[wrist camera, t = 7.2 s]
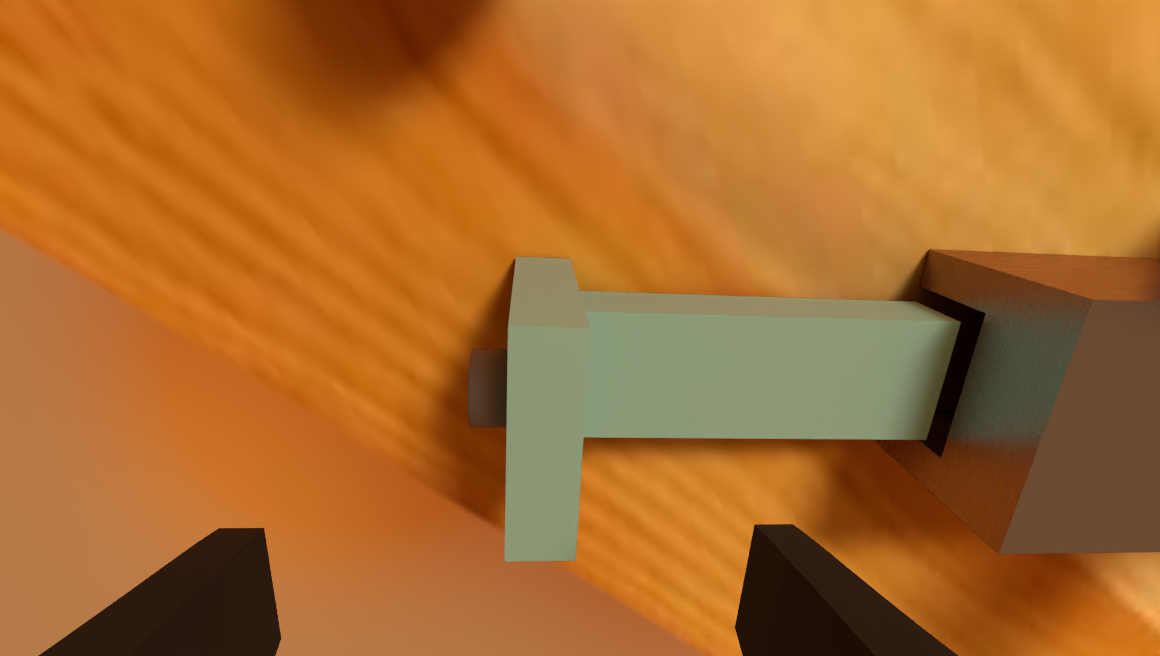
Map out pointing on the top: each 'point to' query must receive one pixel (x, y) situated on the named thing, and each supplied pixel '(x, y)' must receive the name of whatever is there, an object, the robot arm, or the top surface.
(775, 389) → the handle
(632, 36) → the top surface
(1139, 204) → the top surface
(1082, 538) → the block
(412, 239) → the top surface
